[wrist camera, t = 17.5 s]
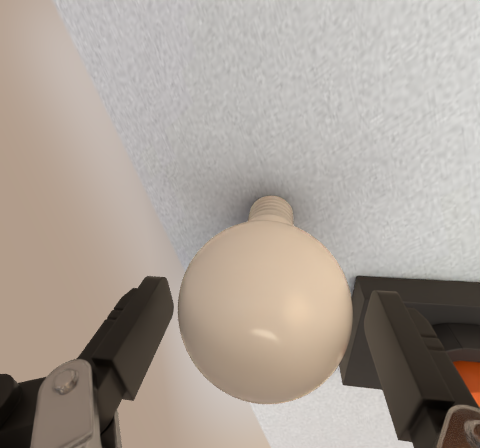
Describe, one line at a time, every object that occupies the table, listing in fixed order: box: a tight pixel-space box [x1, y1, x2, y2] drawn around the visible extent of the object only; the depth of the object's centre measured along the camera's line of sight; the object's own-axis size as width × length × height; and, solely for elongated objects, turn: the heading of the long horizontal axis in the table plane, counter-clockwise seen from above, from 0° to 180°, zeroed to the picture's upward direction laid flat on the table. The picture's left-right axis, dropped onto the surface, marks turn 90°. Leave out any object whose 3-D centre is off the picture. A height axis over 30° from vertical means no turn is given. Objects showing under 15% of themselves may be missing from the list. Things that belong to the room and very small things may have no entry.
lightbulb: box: [178, 196, 353, 404], centre depth 12 cm, size 6×6×11 cm
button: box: [453, 361, 480, 407], centre depth 16 cm, size 4×4×2 cm
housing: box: [339, 276, 480, 390], centre depth 18 cm, size 12×10×4 cm
